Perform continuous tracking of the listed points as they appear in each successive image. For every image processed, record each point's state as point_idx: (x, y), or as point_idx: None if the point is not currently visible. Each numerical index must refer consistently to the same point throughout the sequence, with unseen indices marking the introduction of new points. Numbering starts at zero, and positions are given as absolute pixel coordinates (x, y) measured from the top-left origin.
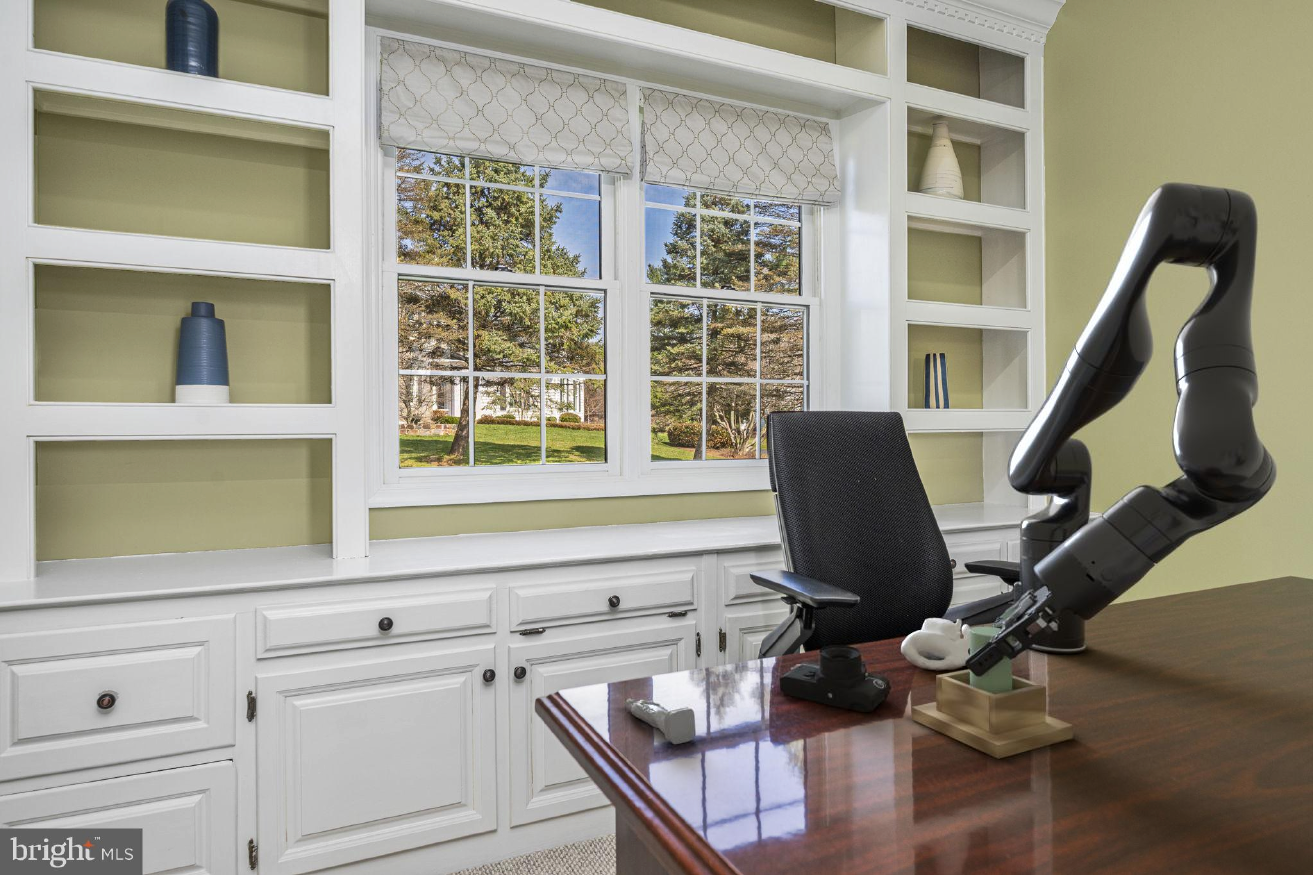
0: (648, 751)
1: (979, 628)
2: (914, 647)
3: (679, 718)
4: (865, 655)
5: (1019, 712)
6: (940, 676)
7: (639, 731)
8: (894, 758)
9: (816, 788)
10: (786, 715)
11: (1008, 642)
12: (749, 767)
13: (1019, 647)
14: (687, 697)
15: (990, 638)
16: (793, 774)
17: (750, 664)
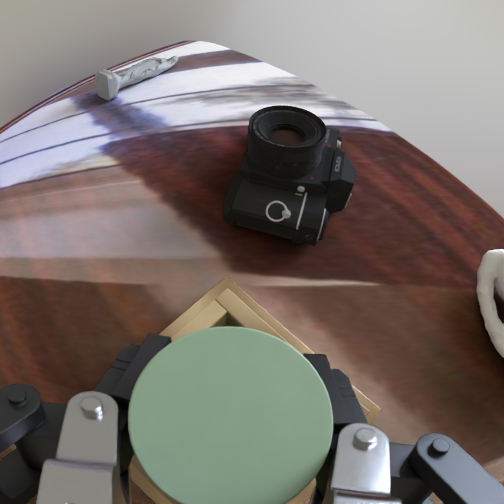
0: (89, 90)
1: (274, 371)
2: (497, 268)
3: (100, 78)
4: (479, 222)
5: None
6: (222, 297)
7: None
8: (65, 258)
9: (10, 193)
10: (191, 141)
11: (17, 443)
12: (53, 142)
13: (3, 470)
14: (219, 80)
15: (89, 396)
16: (36, 172)
17: (357, 111)
